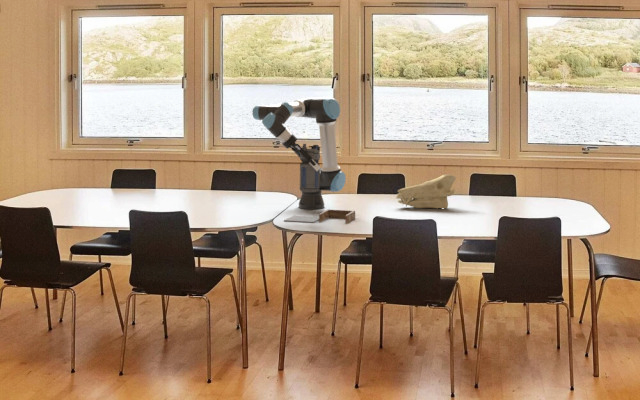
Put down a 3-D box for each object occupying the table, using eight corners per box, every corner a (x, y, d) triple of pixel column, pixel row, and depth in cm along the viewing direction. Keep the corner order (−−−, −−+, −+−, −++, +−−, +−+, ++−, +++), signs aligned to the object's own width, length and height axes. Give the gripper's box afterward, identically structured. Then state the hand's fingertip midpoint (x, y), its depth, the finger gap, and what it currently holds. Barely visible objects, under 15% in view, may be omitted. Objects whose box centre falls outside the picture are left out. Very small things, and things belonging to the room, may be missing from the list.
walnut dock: (327, 216, 405) (327, 209, 405) (354, 218, 401) (355, 210, 401) (319, 221, 388) (319, 214, 388) (347, 223, 384) (347, 215, 384)
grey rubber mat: (294, 216, 405) (294, 215, 405) (322, 218, 401) (322, 216, 401) (283, 221, 388) (283, 220, 388) (313, 222, 384) (313, 221, 384)
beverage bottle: (325, 191, 394) (326, 143, 392) (310, 193, 384) (310, 144, 381) (310, 190, 401) (311, 143, 398) (294, 191, 390) (295, 143, 387)
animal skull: (457, 209, 440) (458, 175, 437) (398, 209, 436) (399, 175, 434) (450, 206, 455) (451, 173, 452) (393, 206, 451) (393, 173, 449)
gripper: (277, 142, 396) (305, 171, 402) (286, 145, 374) (316, 175, 380) (287, 132, 397) (315, 161, 403) (297, 134, 375) (326, 165, 381)
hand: (316, 168), depth 391 cm, fingers closed on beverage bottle, 10 cm apart
